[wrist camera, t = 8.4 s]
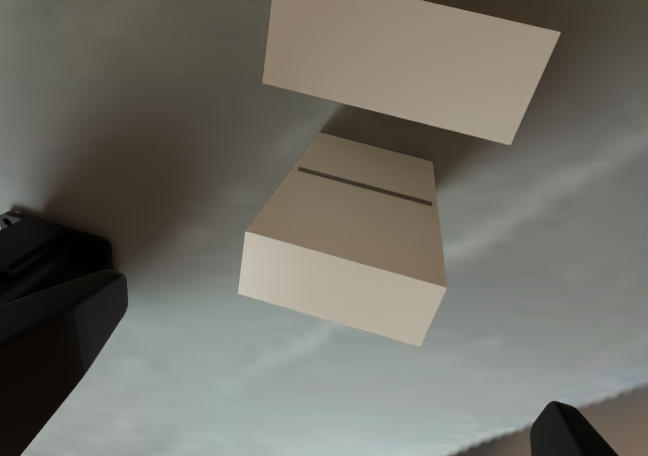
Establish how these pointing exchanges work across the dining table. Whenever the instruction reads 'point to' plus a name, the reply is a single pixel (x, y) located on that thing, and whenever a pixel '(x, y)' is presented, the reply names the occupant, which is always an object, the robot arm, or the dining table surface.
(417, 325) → the domino
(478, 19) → the domino
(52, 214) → the dining table surface
